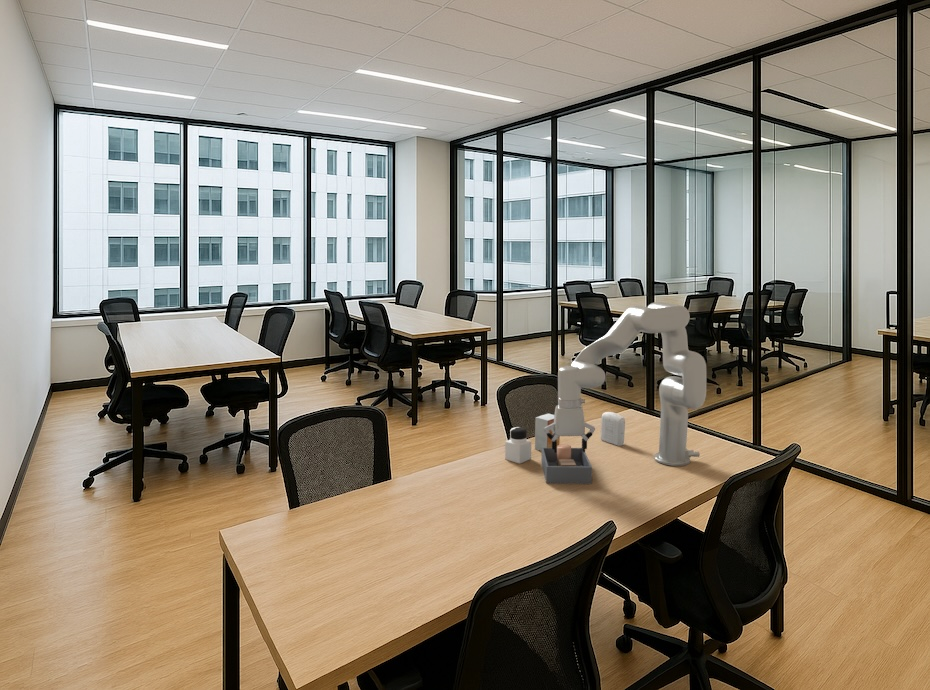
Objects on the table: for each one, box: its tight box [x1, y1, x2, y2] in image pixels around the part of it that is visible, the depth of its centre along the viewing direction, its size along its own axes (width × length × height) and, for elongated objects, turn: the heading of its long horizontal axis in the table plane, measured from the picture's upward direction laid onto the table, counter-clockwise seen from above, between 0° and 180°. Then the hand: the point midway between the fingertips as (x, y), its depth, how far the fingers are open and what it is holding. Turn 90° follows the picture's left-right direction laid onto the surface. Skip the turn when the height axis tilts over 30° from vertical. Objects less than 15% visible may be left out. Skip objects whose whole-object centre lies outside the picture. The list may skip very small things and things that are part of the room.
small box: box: [534, 413, 561, 452], centre depth 237 cm, size 8×6×13 cm
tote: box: [540, 447, 593, 485], centre depth 213 cm, size 15×19×6 cm
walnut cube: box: [559, 459, 576, 467], centre depth 208 cm, size 5×5×5 cm
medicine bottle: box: [504, 426, 532, 464], centre depth 226 cm, size 7×7×12 cm
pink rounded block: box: [557, 443, 572, 466], centre depth 218 cm, size 5×5×7 cm
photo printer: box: [600, 411, 626, 447], centre depth 244 cm, size 10×4×12 cm, turn 36°
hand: (569, 451), depth 207 cm, fingers open, 9 cm apart
